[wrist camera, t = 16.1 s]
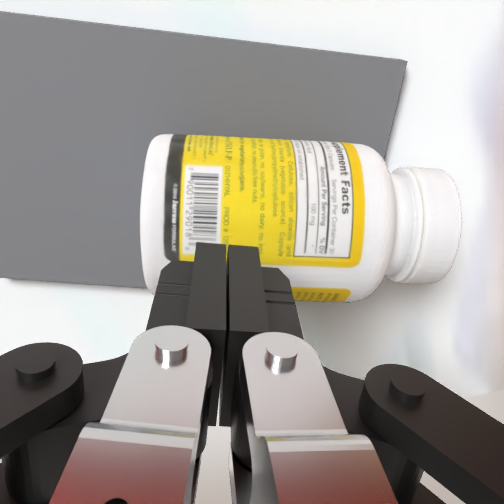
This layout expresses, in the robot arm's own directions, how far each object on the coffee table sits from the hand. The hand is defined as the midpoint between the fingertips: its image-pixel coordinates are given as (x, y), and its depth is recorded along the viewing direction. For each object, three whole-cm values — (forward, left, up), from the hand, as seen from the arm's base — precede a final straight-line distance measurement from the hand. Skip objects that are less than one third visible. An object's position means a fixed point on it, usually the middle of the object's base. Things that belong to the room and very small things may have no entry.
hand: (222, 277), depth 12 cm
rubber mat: (-2, 0, -8) cm, 8 cm away
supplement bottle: (-3, -1, -5) cm, 5 cm away
